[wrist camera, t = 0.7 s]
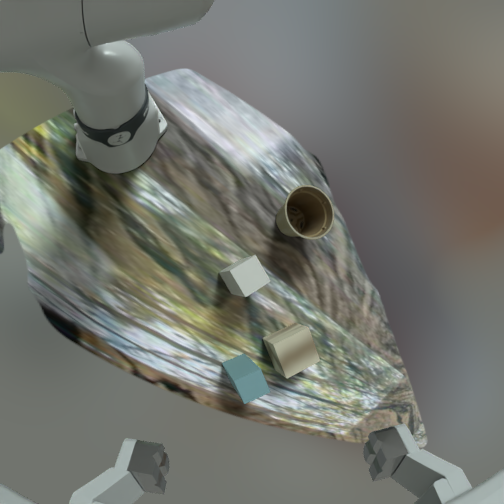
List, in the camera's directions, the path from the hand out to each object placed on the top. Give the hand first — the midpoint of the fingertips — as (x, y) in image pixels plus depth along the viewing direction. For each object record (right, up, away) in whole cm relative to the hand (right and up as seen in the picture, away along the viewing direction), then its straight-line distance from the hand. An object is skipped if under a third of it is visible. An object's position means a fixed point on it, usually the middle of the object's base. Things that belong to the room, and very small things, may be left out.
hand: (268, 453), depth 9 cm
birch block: (+6, -10, +44) cm, 46 cm away
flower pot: (+7, +14, +47) cm, 50 cm away
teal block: (-3, -14, +41) cm, 44 cm away
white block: (-4, +3, +43) cm, 43 cm away
